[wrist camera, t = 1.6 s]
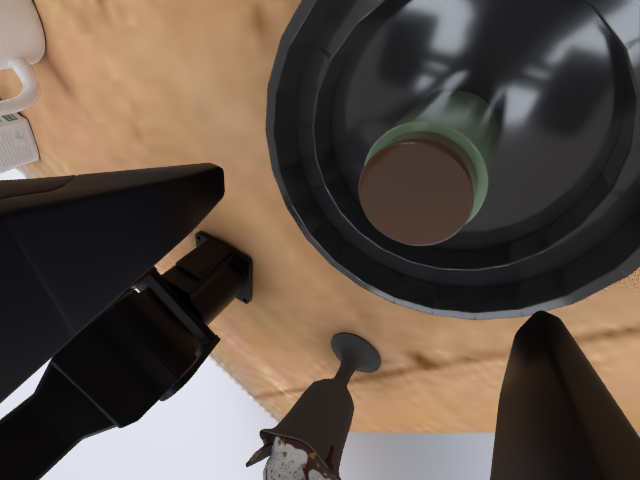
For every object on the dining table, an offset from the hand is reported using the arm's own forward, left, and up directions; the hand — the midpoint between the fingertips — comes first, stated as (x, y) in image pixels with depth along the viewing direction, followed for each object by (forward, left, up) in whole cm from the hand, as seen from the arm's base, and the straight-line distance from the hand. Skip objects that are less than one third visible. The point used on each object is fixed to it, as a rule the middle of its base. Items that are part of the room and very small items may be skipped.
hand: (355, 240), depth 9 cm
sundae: (-21, -1, -11) cm, 24 cm away
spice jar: (0, -1, -10) cm, 10 cm away
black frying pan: (0, -1, -11) cm, 11 cm away
